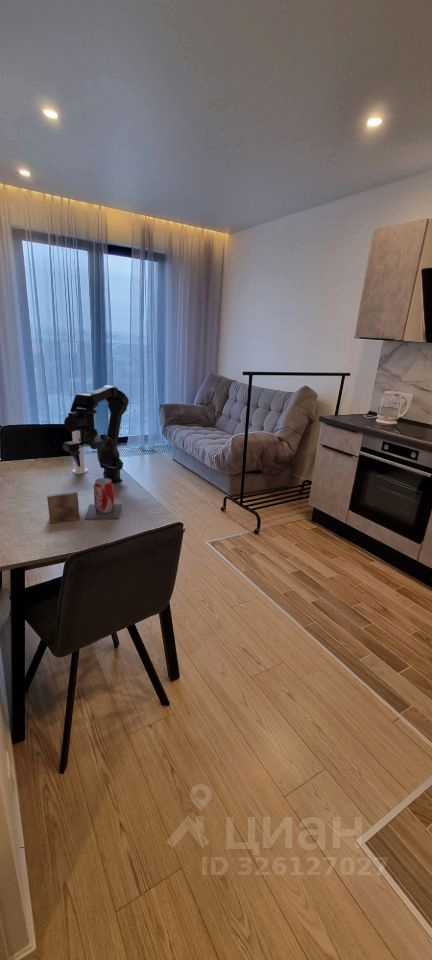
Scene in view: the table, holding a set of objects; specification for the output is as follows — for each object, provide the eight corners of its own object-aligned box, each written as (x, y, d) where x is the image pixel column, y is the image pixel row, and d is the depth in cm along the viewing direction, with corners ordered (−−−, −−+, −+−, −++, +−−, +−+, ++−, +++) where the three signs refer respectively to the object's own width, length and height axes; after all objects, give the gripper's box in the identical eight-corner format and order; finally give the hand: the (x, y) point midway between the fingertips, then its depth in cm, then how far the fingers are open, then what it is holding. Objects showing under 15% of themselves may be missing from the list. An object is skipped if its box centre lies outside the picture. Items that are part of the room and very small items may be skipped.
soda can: (115, 513, 145) (114, 483, 141) (95, 515, 143) (93, 484, 138) (113, 506, 151) (112, 476, 147) (94, 507, 149) (92, 478, 145)
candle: (91, 470, 189) (87, 419, 180) (80, 475, 183) (76, 422, 174) (79, 468, 191) (76, 417, 183) (69, 472, 185) (64, 420, 177)
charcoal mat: (89, 505, 151) (89, 504, 151) (121, 505, 153) (121, 504, 153) (84, 519, 140) (84, 518, 140) (118, 519, 142) (118, 517, 142)
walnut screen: (79, 514, 144) (77, 492, 141) (79, 519, 140) (78, 496, 137) (49, 518, 140) (47, 495, 137) (49, 523, 136) (47, 499, 133)
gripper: (74, 433, 141) (77, 474, 146) (119, 427, 154) (120, 464, 159) (60, 427, 148) (63, 466, 153) (104, 422, 161) (105, 458, 166)
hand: (89, 464), depth 158 cm, fingers open, 9 cm apart
